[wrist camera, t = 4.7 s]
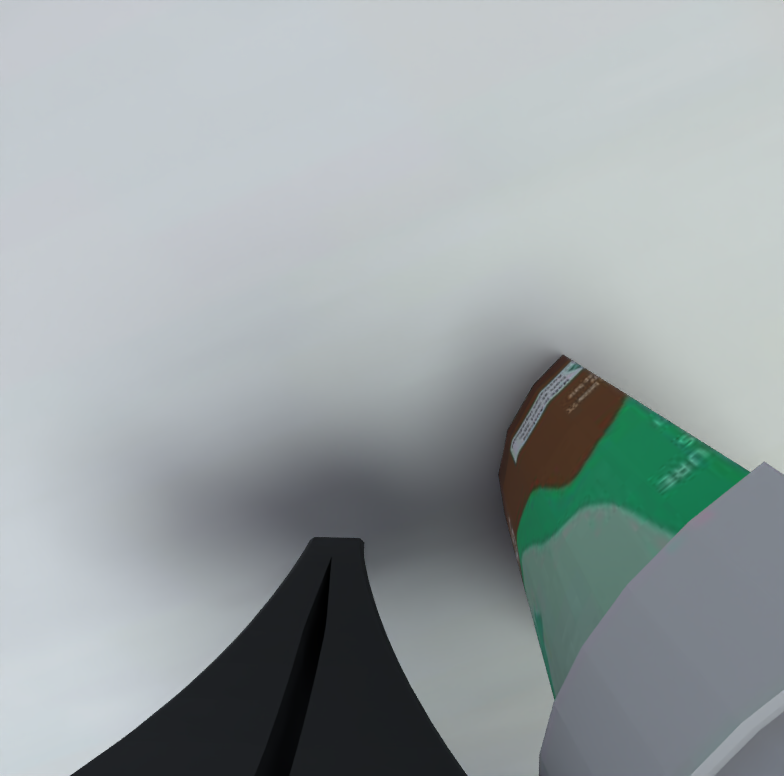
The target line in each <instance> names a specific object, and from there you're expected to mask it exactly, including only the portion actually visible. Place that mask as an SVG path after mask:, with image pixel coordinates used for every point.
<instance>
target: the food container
mask: <svg viewBox="0 0 784 776" xmlns="http://www.w3.org/2000/svg"><path fill="white" fill-rule="evenodd" d="M498 475H499V481H500V488H501V494H502V500H503V507H504V513H505V517H506V521H507V525H508V528H509V532H510V536H511V540H512V543H513V547H514V551H515V554H516V558H517V562H518V566H519V569H520V573H521V577H522V581H523V584H524V588H525V592H526V595H527V599H528V603H529V607H530V610H531V614H532V618H533V622H534V625H535V629H536V633H537V636H538V640H539V644H540V648H541V651H542V655H543V659H544V663H545V666H546V670H547V674H548V677H549V681H550V685H551V689H552V692H553V696H554V700H555V701H554V703H553V707H552V711H551V714H550V718H549V722H548V725H547V729H546V733H545V737H544V740H543V744H542V748H541V751H540V757H539V776H784V475H783V474H782V473H780V472H779V471H777V470H776V469H774V468H773V467H772V466H770V465H769V464H767V463H766V462H763V463H762V464H761V465H759V466H758V467H757V468H756V469H754V470H753V471H752V472H749V471H748V470H746V469H745V468H743V467H741V466H740V465H738V464H737V463H735V462H733V461H732V460H730V459H729V458H727V457H725V456H724V455H722V454H721V453H719V452H717V451H716V450H714V449H713V448H711V447H710V446H708V445H706V444H705V443H703V442H702V441H700V440H698V439H697V438H695V437H694V436H692V435H690V434H689V433H687V432H686V431H684V430H682V429H681V428H679V427H678V426H676V425H674V424H673V423H671V422H670V421H668V420H667V419H665V418H663V417H662V416H660V415H659V414H657V413H655V412H654V411H652V410H651V409H649V408H647V407H646V406H644V405H643V404H641V403H639V402H638V401H636V400H635V399H633V398H631V397H630V396H628V395H627V394H625V393H624V392H622V391H620V390H619V389H617V388H616V387H614V386H612V385H611V384H609V383H608V382H606V381H604V380H603V379H601V378H600V377H598V376H596V375H595V374H593V373H592V372H590V371H588V370H587V369H585V368H584V367H582V366H581V365H579V364H577V363H576V362H574V361H573V360H571V359H569V358H568V357H566V356H565V355H562V356H561V357H560V358H559V359H558V360H557V361H556V362H555V364H554V365H553V366H552V367H551V368H550V369H549V370H548V371H547V372H546V373H545V374H544V375H543V376H542V377H541V378H540V379H539V380H538V381H537V382H536V383H535V384H534V385H533V387H532V388H531V390H530V392H529V394H528V395H527V397H526V399H525V401H524V402H523V404H522V406H521V408H520V409H519V411H518V413H517V414H516V416H515V418H514V420H513V421H512V423H511V425H510V427H509V428H508V431H507V436H506V440H505V445H504V450H503V455H502V460H501V464H500V469H499V474H498Z"/></svg>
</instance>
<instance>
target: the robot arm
mask: <svg viewBox="0 0 784 776" xmlns="http://www.w3.org/2000/svg"><path fill="white" fill-rule="evenodd" d="M70 776H467V774H466V773H465V771H464V770H463V769H462V767H461V766H460V765H459V763H458V762H457V760H456V759H455V757H454V756H453V754H452V753H451V751H450V750H449V749H448V747H447V746H446V744H445V742H444V741H443V739H442V738H441V736H440V735H439V733H438V732H437V730H436V728H435V727H434V725H433V724H432V722H431V721H430V719H429V717H428V715H427V714H426V712H425V710H424V708H423V707H422V705H421V703H420V701H419V700H418V698H417V696H416V694H415V693H414V691H413V689H412V687H411V686H410V684H409V682H408V680H407V678H406V676H405V674H404V672H403V670H402V668H401V666H400V664H399V662H398V660H397V657H396V655H395V653H394V651H393V649H392V646H391V644H390V642H389V639H388V637H387V634H386V632H385V629H384V627H383V624H382V621H381V619H380V616H379V613H378V610H377V607H376V604H375V601H374V598H373V594H372V591H371V587H370V584H369V580H368V576H367V571H366V566H365V559H364V542H363V541H362V540H361V539H360V538H329V537H314V538H313V539H311V540H310V542H309V543H308V545H307V547H306V548H305V550H304V552H303V553H302V555H301V556H300V558H299V560H298V561H297V563H296V564H295V565H294V567H293V568H292V570H291V571H290V573H289V574H288V576H287V577H286V578H285V580H284V581H283V582H282V584H281V585H280V586H279V588H278V589H277V590H276V592H275V593H274V594H273V596H272V597H271V598H270V599H269V601H268V602H267V603H266V604H265V606H264V607H263V608H262V609H261V610H260V612H259V613H258V614H257V615H256V616H255V618H254V619H253V620H252V621H251V622H250V623H249V625H248V626H247V627H246V628H245V629H244V630H243V631H242V632H241V634H240V635H239V636H238V637H237V638H236V639H235V640H234V641H233V642H232V643H231V644H230V645H229V646H228V647H227V648H226V649H225V650H224V651H223V652H222V653H221V654H220V655H219V656H218V657H217V658H216V659H215V660H214V661H213V662H212V663H211V664H210V665H209V666H208V667H207V668H206V669H205V670H204V671H203V672H202V673H201V674H200V675H198V676H197V677H196V678H195V679H194V680H193V681H192V682H191V683H190V684H189V685H188V686H186V687H185V688H184V689H183V690H182V691H181V692H180V693H179V694H177V695H176V696H175V697H174V698H173V699H171V700H170V701H169V702H168V703H166V704H165V705H164V706H163V707H162V708H160V709H159V710H158V711H157V712H155V713H154V714H153V715H152V716H150V717H149V718H148V719H147V720H146V721H144V722H143V723H142V724H141V725H139V726H138V727H137V728H136V729H134V730H133V731H132V732H130V733H129V734H128V735H127V736H125V737H124V738H123V739H121V740H120V741H118V742H117V743H116V744H114V745H113V746H111V747H110V748H109V749H107V750H106V751H104V752H103V753H101V754H100V755H99V756H97V757H96V758H94V759H93V760H92V761H90V762H89V763H87V764H86V765H85V766H83V767H82V768H80V769H79V770H77V771H76V772H75V773H73V774H72V775H70Z"/></svg>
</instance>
